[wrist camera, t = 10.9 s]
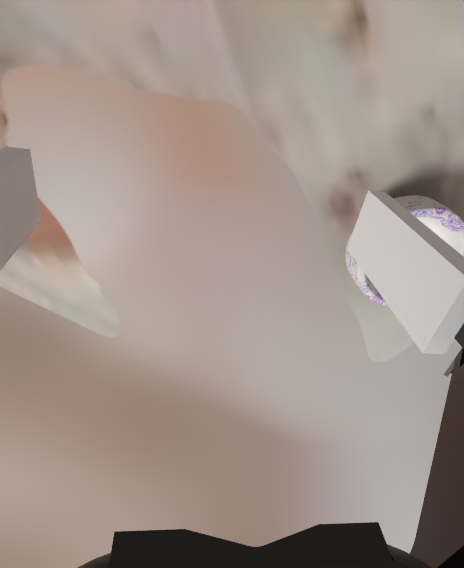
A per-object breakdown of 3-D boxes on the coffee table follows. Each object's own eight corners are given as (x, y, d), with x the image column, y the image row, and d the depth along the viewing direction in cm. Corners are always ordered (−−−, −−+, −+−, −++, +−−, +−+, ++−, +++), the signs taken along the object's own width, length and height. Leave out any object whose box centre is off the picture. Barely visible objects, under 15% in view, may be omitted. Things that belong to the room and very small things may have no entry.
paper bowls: (450, 179, 50) (488, 201, 44) (426, 271, 59) (455, 300, 52) (342, 192, 50) (364, 216, 43) (334, 283, 59) (351, 314, 52)
